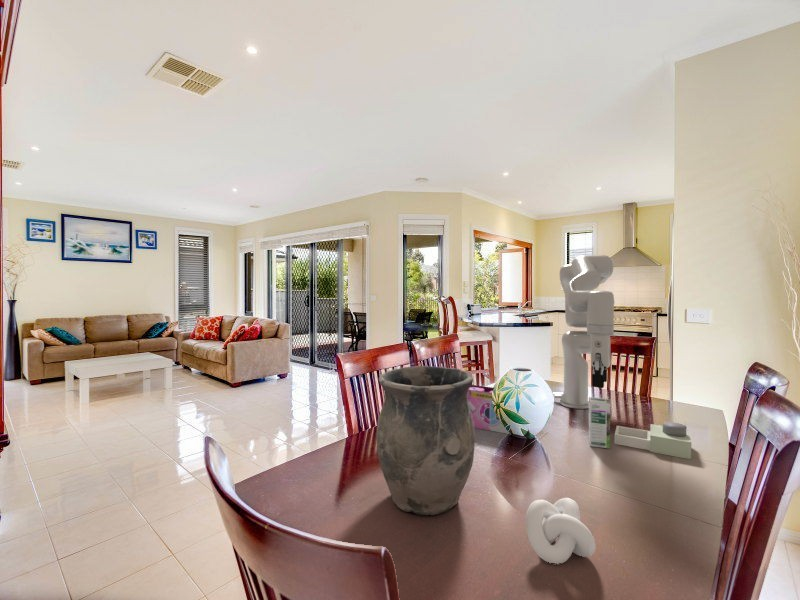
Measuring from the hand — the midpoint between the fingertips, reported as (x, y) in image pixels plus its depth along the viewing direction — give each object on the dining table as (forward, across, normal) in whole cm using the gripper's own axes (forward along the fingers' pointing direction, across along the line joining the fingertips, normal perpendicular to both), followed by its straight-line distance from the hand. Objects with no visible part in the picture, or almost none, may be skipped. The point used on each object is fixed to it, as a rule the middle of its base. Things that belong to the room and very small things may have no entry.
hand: (599, 384), depth 124 cm
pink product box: (+20, -2, +33) cm, 39 cm away
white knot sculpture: (+21, -59, +1) cm, 63 cm away
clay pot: (+20, -57, +31) cm, 68 cm away
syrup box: (+20, +1, 0) cm, 20 cm away
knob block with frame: (+19, +9, -14) cm, 25 cm away
